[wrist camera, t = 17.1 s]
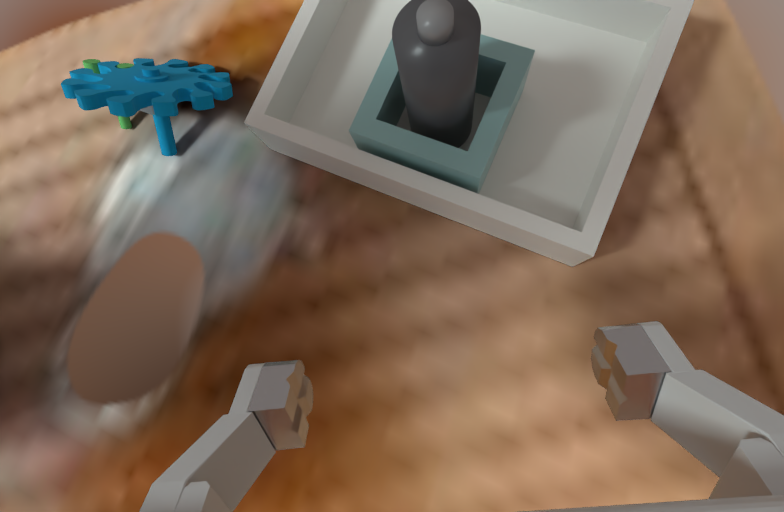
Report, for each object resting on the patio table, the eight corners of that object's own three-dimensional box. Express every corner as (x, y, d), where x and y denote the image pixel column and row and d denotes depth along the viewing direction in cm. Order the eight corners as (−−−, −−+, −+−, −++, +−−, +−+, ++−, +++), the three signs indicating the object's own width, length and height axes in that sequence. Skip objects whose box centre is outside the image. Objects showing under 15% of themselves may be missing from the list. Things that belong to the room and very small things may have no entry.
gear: (262, 72, 30) (129, 104, 22) (268, 151, 33) (155, 201, 26) (154, 40, 33) (10, 59, 26) (170, 115, 37) (47, 150, 30)
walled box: (270, 149, 30) (235, 115, 25) (361, -39, 32) (345, -105, 27) (572, 266, 26) (600, 253, 21) (661, 43, 28) (706, -18, 23)
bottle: (401, 141, 28) (373, 40, 18) (425, 89, 28) (411, -37, 19) (457, 162, 27) (460, 68, 17) (481, 108, 28) (497, -14, 18)
